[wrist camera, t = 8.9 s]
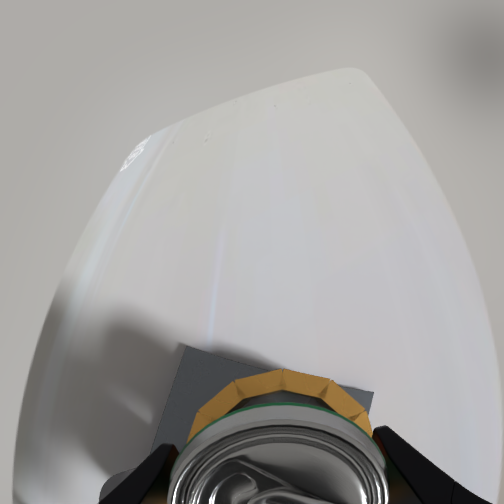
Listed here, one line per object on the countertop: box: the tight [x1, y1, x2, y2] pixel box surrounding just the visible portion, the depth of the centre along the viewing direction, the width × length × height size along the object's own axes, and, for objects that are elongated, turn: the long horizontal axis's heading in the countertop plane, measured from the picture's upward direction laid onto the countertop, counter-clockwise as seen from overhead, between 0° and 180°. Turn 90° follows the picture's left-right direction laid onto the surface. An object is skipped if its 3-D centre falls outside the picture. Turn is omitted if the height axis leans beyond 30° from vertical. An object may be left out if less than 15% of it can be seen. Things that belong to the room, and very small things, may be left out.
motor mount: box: [99, 346, 374, 502], centre depth 11 cm, size 14×12×8 cm
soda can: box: [167, 402, 390, 504], centre depth 8 cm, size 5×5×12 cm
